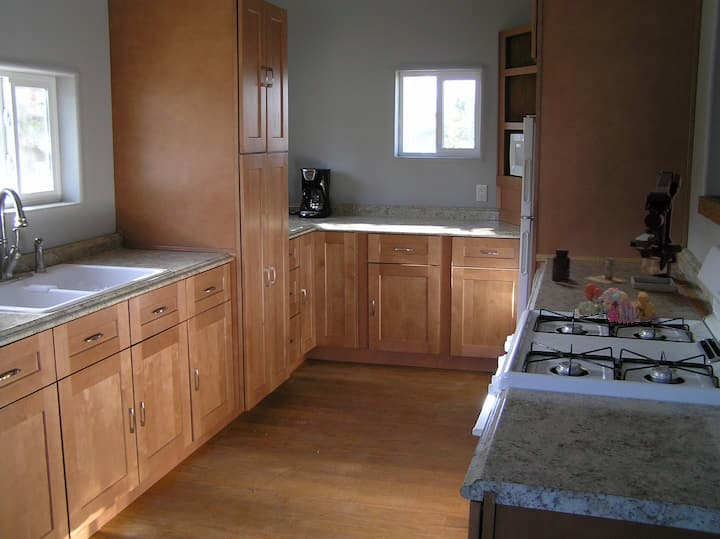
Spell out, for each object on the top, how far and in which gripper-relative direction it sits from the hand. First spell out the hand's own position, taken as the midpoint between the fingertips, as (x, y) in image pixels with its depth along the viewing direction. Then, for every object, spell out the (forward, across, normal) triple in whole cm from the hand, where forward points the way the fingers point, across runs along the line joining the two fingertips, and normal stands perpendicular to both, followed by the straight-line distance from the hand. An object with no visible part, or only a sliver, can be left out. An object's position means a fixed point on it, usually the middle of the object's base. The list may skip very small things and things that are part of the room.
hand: (653, 269), depth 285 cm
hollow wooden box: (+1, 0, 0) cm, 1 cm away
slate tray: (+7, 0, 0) cm, 7 cm away
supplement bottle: (+7, -26, -20) cm, 34 cm away
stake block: (+7, -17, -6) cm, 19 cm away
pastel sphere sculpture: (+7, +24, -46) cm, 53 cm away
